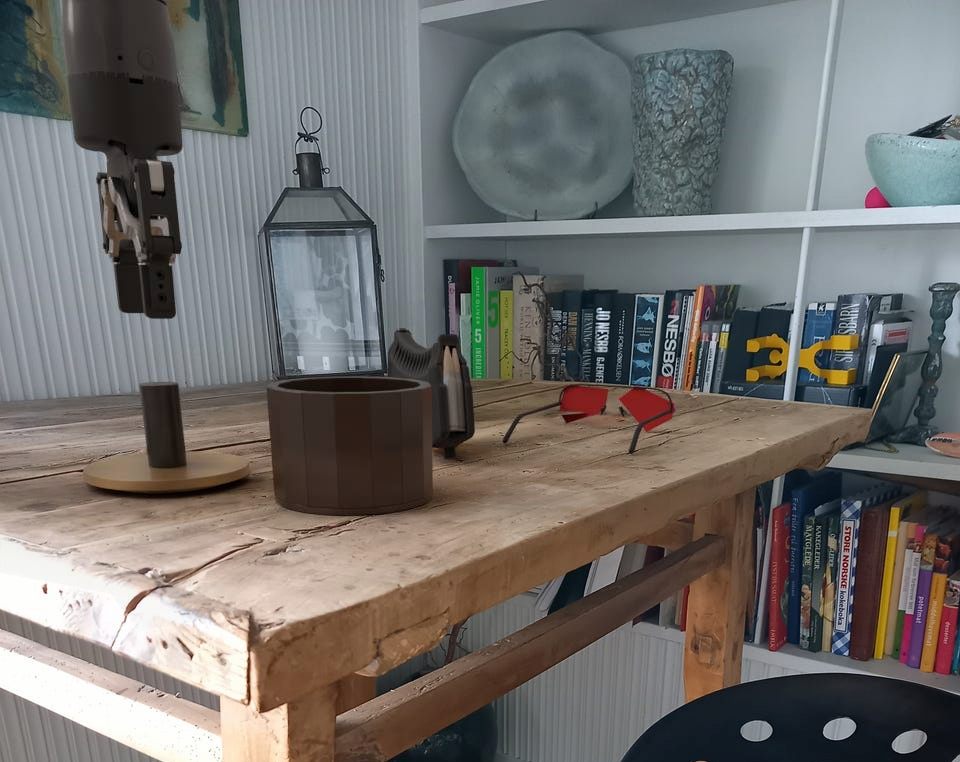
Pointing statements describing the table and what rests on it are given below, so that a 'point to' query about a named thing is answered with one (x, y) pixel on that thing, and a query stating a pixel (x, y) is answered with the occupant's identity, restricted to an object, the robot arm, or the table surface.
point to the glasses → (593, 401)
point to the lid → (165, 453)
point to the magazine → (438, 385)
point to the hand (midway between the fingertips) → (146, 315)
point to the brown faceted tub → (351, 444)
